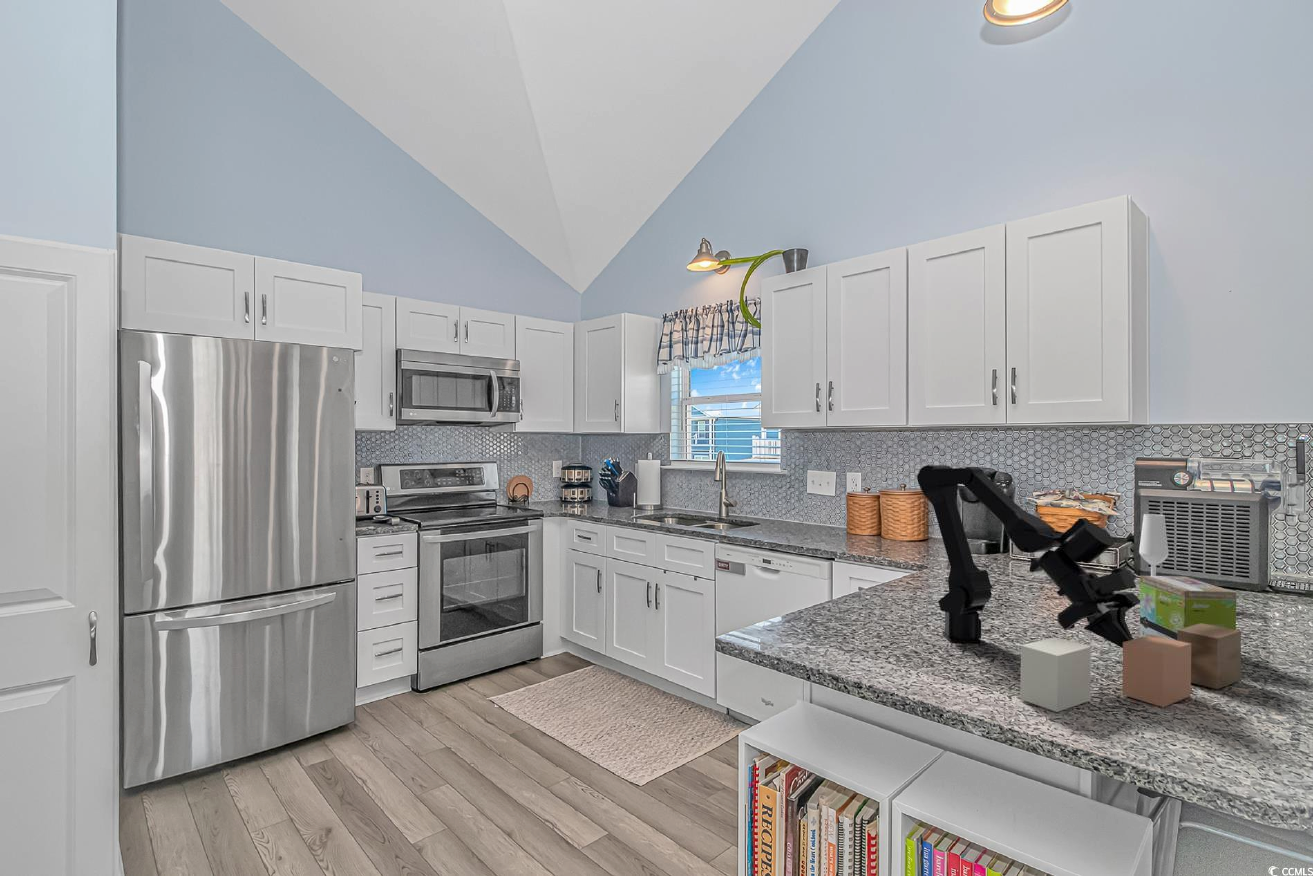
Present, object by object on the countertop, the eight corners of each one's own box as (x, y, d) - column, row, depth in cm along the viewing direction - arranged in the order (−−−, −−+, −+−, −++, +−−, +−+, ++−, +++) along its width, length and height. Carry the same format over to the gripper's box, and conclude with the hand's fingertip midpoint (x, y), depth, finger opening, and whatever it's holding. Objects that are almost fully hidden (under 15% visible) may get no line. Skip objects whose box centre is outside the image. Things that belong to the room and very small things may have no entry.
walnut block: (1176, 678, 121) (1177, 629, 121) (1200, 669, 126) (1201, 623, 126) (1217, 689, 116) (1217, 638, 116) (1240, 679, 121) (1241, 631, 121)
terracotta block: (1122, 694, 113) (1122, 642, 113) (1150, 684, 118) (1151, 634, 118) (1163, 707, 108) (1163, 652, 108) (1190, 696, 113) (1191, 643, 113)
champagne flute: (1164, 597, 189) (1165, 514, 189) (1171, 602, 183) (1172, 516, 183) (1135, 595, 192) (1136, 513, 192) (1142, 600, 185) (1143, 515, 186)
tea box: (1137, 639, 147) (1138, 573, 147) (1185, 642, 146) (1186, 575, 146) (1184, 662, 132) (1185, 588, 132) (1238, 664, 131) (1239, 590, 131)
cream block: (1020, 699, 110) (1020, 645, 110) (1053, 688, 115) (1054, 637, 115) (1057, 712, 105) (1057, 655, 105) (1090, 700, 110) (1090, 646, 110)
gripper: (1075, 556, 116) (1146, 634, 106) (1128, 549, 125) (1198, 620, 115) (1030, 592, 123) (1094, 669, 113) (1084, 582, 132) (1147, 653, 122)
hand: (1135, 651), depth 116 cm, fingers closed, pressing on terracotta block
